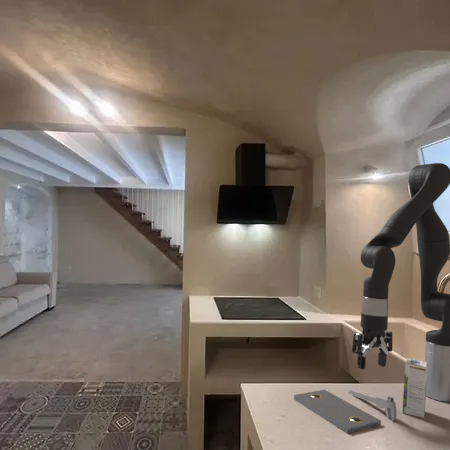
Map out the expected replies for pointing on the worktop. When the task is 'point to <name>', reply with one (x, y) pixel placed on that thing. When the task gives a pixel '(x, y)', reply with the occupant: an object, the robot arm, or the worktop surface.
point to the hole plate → (337, 411)
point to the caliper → (379, 403)
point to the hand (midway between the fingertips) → (371, 367)
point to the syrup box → (415, 387)
